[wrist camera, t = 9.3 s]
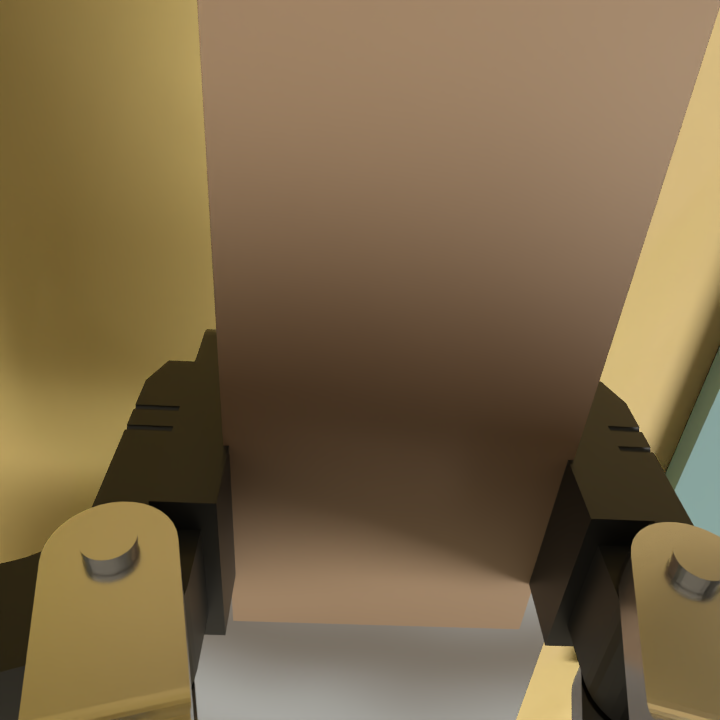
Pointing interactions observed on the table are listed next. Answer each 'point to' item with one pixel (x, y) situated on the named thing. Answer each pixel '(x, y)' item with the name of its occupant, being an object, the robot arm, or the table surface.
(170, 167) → the table surface
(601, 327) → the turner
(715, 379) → the mat
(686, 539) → the robot arm
